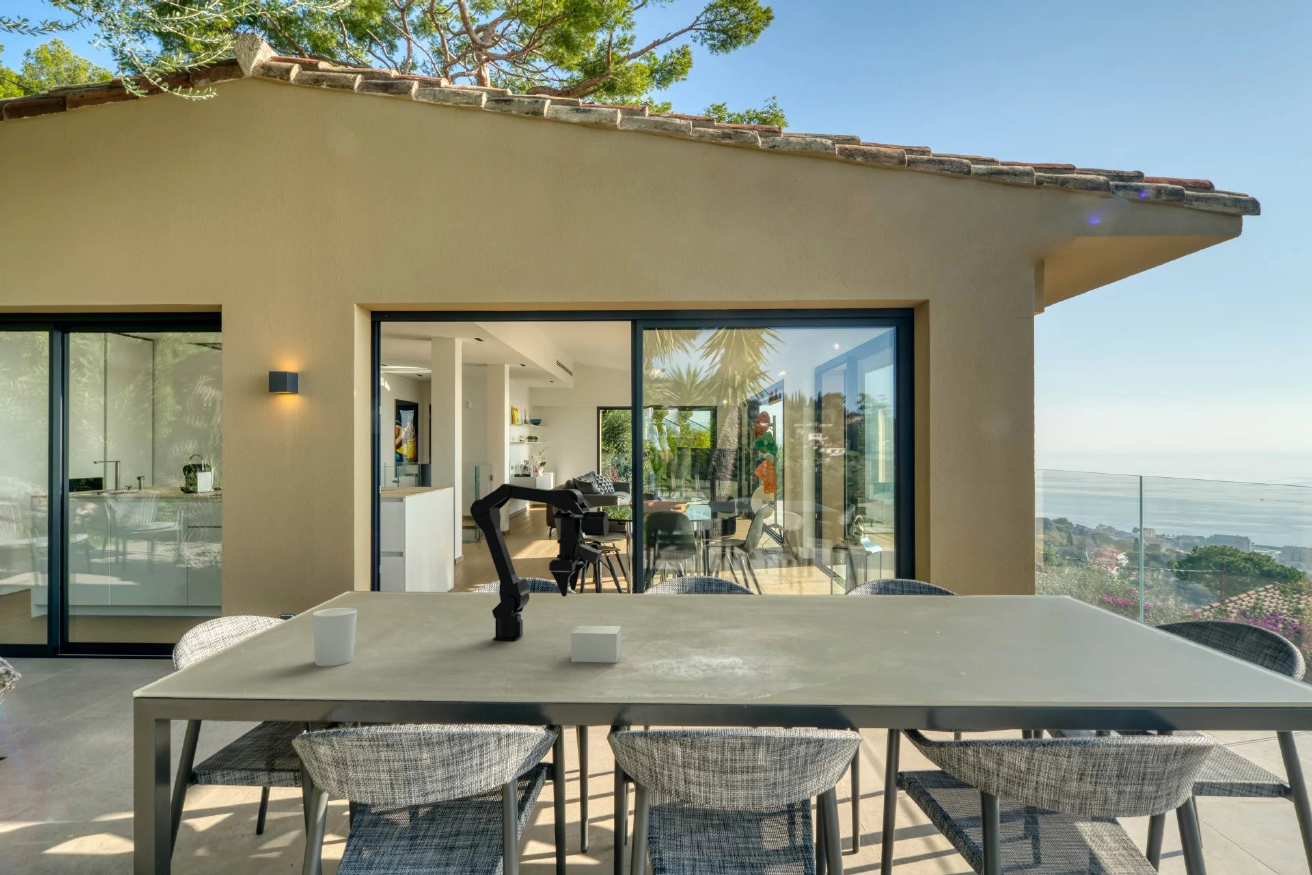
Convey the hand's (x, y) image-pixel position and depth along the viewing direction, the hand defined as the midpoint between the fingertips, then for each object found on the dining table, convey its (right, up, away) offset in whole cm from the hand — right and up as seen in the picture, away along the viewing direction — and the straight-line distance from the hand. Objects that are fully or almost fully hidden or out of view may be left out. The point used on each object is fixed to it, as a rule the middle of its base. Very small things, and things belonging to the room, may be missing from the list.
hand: (568, 593), depth 176 cm
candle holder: (-54, -12, -19) cm, 59 cm away
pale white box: (+9, -12, -17) cm, 23 cm away
